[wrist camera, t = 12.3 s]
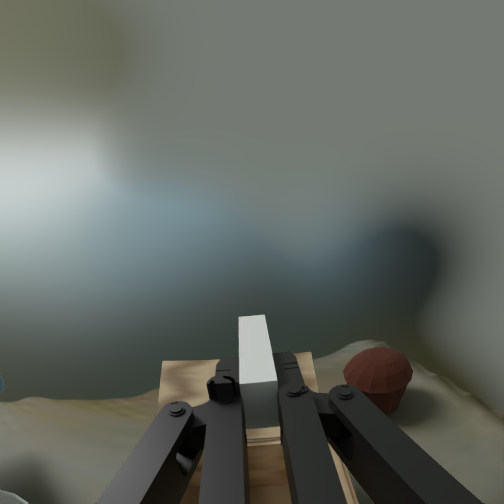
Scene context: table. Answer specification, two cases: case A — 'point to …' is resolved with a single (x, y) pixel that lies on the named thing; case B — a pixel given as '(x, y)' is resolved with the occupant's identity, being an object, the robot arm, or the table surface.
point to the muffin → (380, 376)
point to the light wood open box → (269, 476)
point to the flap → (195, 389)
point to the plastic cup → (10, 498)
